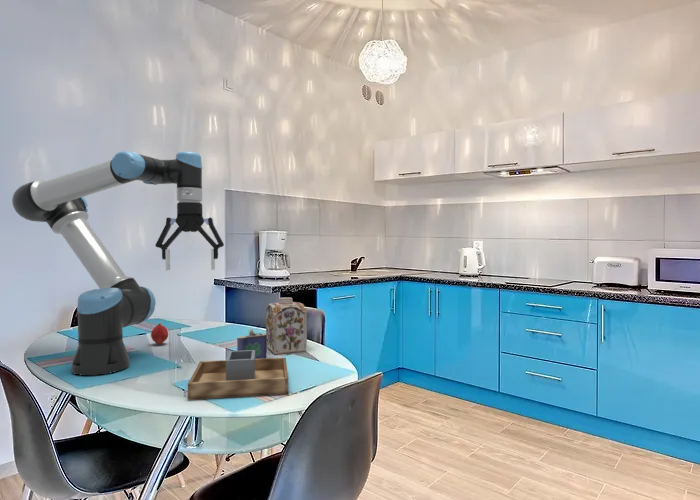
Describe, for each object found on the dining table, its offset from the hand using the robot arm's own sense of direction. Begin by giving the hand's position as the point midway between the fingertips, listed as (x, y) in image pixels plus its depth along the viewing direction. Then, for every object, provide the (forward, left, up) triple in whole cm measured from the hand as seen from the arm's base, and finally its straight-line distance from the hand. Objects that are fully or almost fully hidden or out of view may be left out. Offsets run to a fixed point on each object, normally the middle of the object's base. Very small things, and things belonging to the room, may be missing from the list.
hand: (190, 269), depth 147 cm
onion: (-15, +24, -29) cm, 40 cm away
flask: (+19, -8, -29) cm, 36 cm away
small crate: (+17, -27, -28) cm, 42 cm away
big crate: (+17, -27, -29) cm, 43 cm away
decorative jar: (+30, +9, -29) cm, 43 cm away
